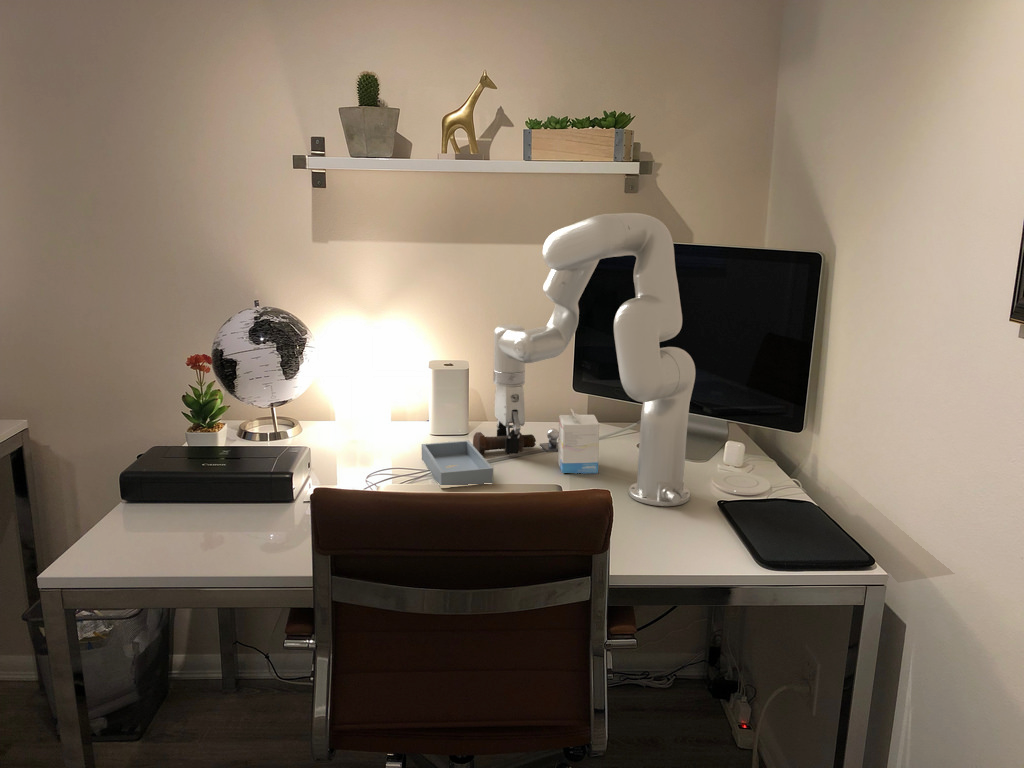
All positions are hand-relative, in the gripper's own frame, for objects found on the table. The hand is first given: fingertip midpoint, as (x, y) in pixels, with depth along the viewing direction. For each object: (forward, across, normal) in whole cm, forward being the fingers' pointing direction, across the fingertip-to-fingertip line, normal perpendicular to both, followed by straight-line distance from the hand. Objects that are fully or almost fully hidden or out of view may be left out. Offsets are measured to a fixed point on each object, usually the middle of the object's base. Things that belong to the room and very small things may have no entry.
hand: (507, 448), depth 201 cm
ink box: (+1, -15, -12) cm, 19 cm away
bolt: (+1, +1, 0) cm, 1 cm away
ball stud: (+1, 0, -12) cm, 12 cm away
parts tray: (+1, -10, +15) cm, 18 cm away
